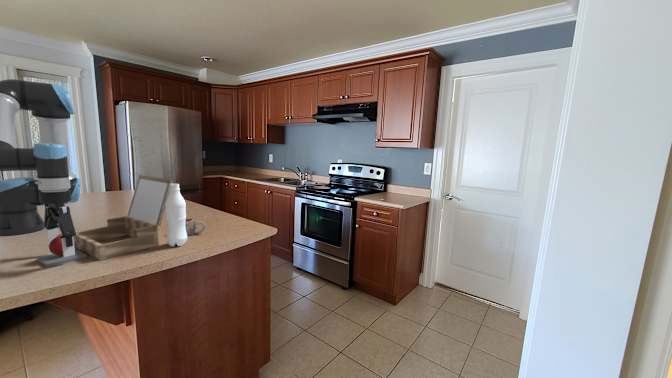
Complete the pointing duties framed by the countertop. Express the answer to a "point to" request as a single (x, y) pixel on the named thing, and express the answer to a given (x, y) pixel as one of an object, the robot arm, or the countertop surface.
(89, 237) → the box
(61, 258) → the slate mat
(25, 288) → the countertop surface
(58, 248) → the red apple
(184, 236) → the water bottle
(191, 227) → the mug
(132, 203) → the lid
